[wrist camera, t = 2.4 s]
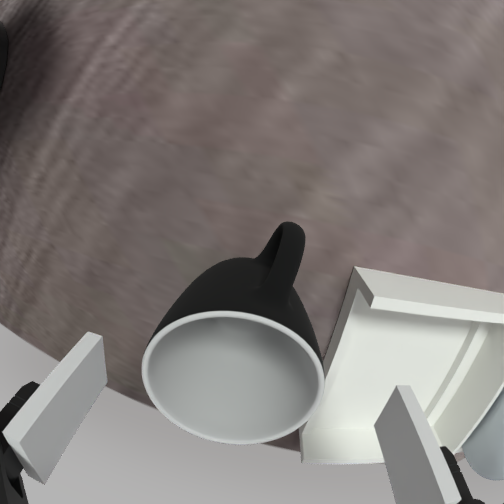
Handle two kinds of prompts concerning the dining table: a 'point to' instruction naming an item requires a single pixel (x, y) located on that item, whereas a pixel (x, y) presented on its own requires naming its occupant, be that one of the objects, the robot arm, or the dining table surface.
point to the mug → (239, 350)
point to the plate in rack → (488, 443)
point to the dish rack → (406, 363)
